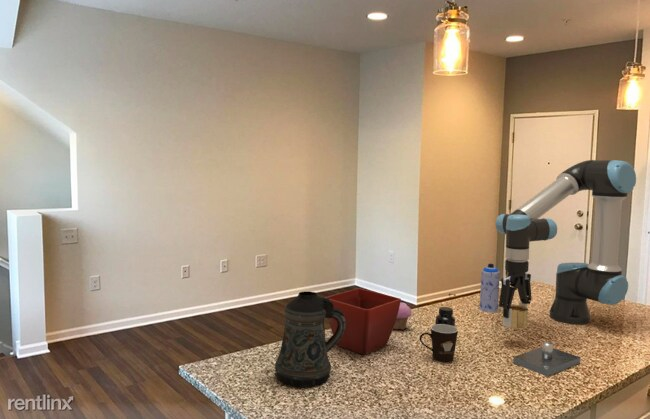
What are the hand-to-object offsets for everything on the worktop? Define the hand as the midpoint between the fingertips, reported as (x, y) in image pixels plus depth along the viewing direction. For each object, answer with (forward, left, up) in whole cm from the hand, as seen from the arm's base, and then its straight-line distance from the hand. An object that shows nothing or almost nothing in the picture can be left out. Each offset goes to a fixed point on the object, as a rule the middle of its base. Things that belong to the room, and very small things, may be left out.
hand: (514, 323), depth 178 cm
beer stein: (+74, -18, -8) cm, 77 cm away
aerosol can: (-27, -31, -8) cm, 42 cm away
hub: (0, 0, 0) cm, 0 cm away
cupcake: (+23, -34, -8) cm, 42 cm away
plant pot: (+46, -28, -8) cm, 54 cm away
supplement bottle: (+19, -15, -8) cm, 25 cm away
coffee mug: (+32, -6, -8) cm, 33 cm away
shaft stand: (+6, +16, -7) cm, 18 cm away
